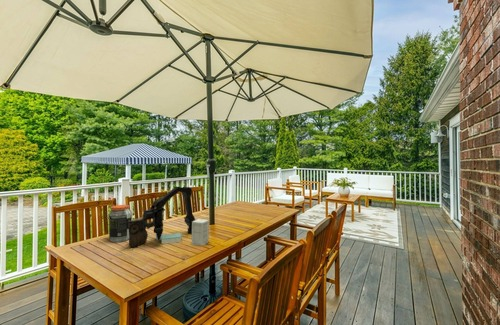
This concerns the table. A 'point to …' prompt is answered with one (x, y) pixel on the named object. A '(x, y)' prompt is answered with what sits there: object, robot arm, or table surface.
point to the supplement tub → (119, 223)
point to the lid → (170, 236)
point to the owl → (137, 232)
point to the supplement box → (200, 232)
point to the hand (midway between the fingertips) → (158, 238)
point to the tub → (171, 240)
